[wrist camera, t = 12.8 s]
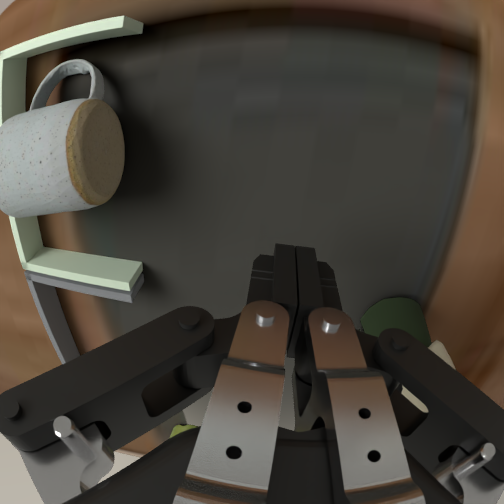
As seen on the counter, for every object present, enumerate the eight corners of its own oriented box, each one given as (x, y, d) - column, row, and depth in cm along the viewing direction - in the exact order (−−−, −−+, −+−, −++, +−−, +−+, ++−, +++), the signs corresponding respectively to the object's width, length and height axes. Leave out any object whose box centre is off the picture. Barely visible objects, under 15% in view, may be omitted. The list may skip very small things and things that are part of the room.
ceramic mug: (137, 186, 21) (83, 232, 14) (57, 195, 22) (-2, 236, 15) (124, 48, 16) (58, 36, 9) (40, 76, 16) (-29, 85, 10)
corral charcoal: (143, 273, 25) (130, 295, 22) (164, 396, 35) (158, 414, 32) (40, 256, 25) (24, 272, 22) (85, 375, 35) (77, 391, 32)
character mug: (361, 271, 23) (408, 412, 12) (435, 266, 23) (505, 384, 12) (345, 358, 29) (364, 474, 18) (407, 351, 28) (440, 456, 17)
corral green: (143, 23, 15) (124, 15, 12) (142, 270, 25) (129, 291, 22) (22, 51, 15) (-2, 52, 12) (39, 252, 25) (23, 268, 22)
